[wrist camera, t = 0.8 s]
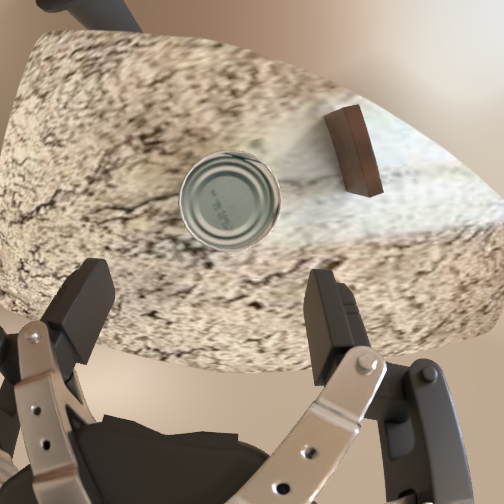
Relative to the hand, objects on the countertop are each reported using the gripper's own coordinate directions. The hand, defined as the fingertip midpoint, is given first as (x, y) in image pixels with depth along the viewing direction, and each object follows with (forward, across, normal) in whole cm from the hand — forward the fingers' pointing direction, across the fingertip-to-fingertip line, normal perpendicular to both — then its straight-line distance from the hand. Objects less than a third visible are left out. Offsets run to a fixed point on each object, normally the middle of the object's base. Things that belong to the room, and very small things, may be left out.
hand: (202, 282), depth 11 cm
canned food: (+23, +1, +6) cm, 24 cm away
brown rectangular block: (+26, -13, +1) cm, 29 cm away
